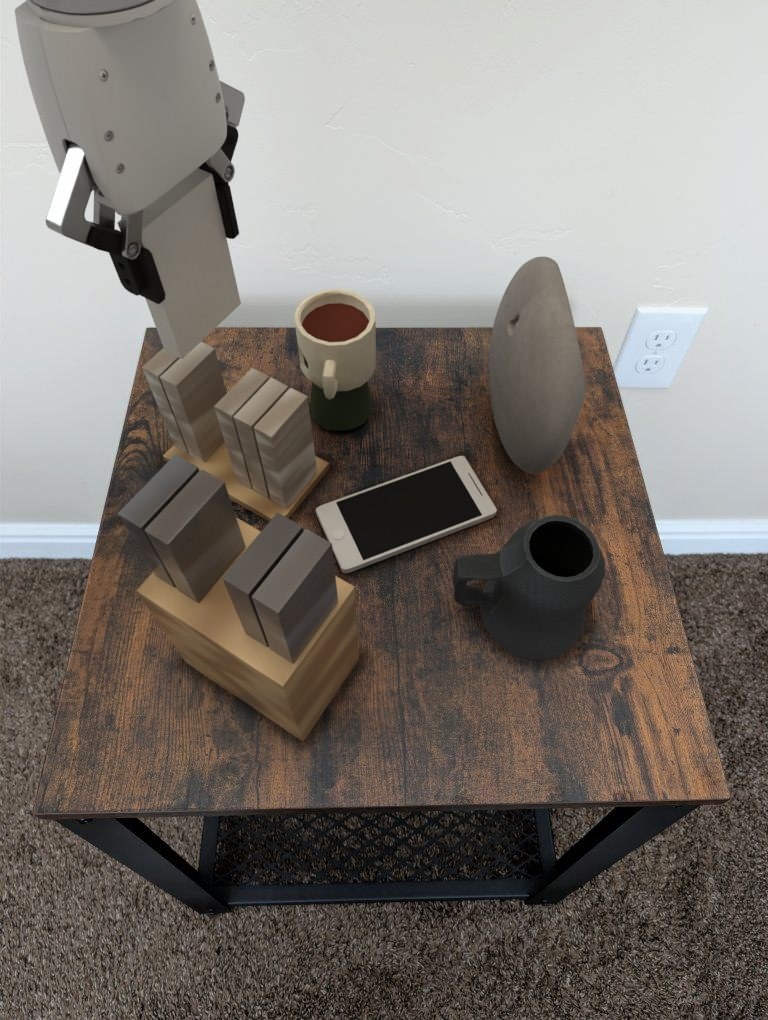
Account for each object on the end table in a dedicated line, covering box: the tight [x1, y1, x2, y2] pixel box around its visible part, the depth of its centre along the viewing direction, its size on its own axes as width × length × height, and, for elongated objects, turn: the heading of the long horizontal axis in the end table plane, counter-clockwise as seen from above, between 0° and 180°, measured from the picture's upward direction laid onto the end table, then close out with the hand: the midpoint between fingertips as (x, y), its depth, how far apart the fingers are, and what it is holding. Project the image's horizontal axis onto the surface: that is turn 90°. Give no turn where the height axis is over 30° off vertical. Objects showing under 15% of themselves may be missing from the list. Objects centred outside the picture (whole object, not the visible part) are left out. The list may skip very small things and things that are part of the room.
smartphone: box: [315, 455, 498, 574], centre depth 65 cm, size 7×15×1 cm, turn 113°
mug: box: [452, 514, 606, 661], centre depth 56 cm, size 12×9×11 cm
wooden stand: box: [117, 454, 360, 742], centre depth 49 cm, size 12×8×22 cm, turn 58°
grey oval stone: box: [488, 256, 587, 475], centre depth 63 cm, size 18×7×19 cm, turn 3°
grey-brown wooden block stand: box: [141, 341, 330, 523], centre depth 63 cm, size 14×8×12 cm, turn 58°
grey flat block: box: [117, 168, 242, 359], centre depth 49 cm, size 2×7×11 cm, turn 148°
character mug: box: [294, 288, 377, 432], centre depth 67 cm, size 11×7×13 cm, turn 174°
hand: (183, 259), depth 49 cm, fingers closed on grey flat block, 7 cm apart
